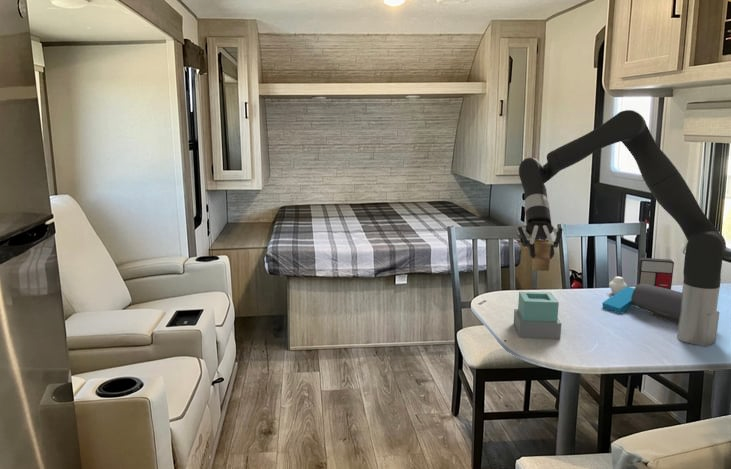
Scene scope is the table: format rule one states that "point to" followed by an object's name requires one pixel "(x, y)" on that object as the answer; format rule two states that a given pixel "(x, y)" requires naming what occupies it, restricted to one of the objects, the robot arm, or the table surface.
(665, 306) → the bluetooth speaker
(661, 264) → the color panel box
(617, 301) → the blue rectangular block
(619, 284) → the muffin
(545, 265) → the walnut brick
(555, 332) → the tower base
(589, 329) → the table surface
